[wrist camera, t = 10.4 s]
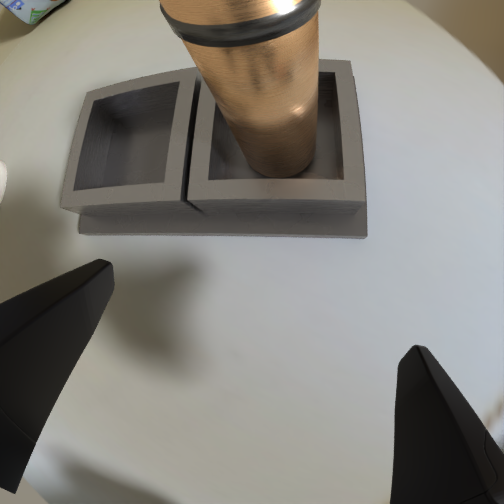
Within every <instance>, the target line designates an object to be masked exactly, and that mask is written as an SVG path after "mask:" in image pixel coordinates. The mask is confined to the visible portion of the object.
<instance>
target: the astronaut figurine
mask: <svg viewBox="0 0 504 504" xmlns="http://www.w3.org/2000/svg"><path fill="white" fill-rule="evenodd" d="M6 181H7V169H6V165H5V163H4V162H3V161H1V160H0V203H1V201H2V199H3V196H4V192H5V187H6Z"/></svg>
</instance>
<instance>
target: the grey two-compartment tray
mask: <svg viewBox="0 0 504 504" xmlns="http://www.w3.org/2000/svg"><path fill="white" fill-rule="evenodd" d="M60 208H63V209H66V210H69V211H72V212H75V213H78V214H81V219H80V228H79V234H83V235H183V236H264V237H313V238H352V239H365V238H366V237H367V200H366V181H365V166H364V154H363V143H362V133H361V124H360V115H359V107H358V100H357V93H356V86H355V80H354V76H353V73H352V67H351V62H350V61H346V60H326V59H319V64H318V111H317V136H316V150H315V154H314V157H313V159H312V161H311V162H310V164H309V165H308V166H307V167H306V168H305V169H304V170H302V171H301V172H299V173H297V174H295V175H293V176H290V177H286V178H272V177H267V176H264V175H262V174H260V173H258V172H257V171H255V170H254V169H253V168H252V167H251V166H250V165H249V164H248V162H247V160H246V158H245V157H244V155H243V153H242V151H241V149H240V147H239V145H238V143H237V141H236V139H235V137H234V135H233V133H232V131H231V129H230V127H229V126H228V124H227V122H226V120H225V118H224V116H223V114H222V112H221V110H220V108H219V107H218V105H217V103H216V101H215V99H214V97H213V95H212V94H211V92H210V90H209V88H208V86H207V84H206V82H205V81H204V79H203V77H202V75H201V73H200V71H199V70H198V68H197V67H193V68H186V69H180V70H175V71H169V72H164V73H159V74H154V75H150V76H145V77H141V78H137V79H133V80H129V81H125V82H121V83H117V84H114V85H110V86H106V87H103V88H100V89H96V90H93V91H90V92H87V94H86V97H85V100H84V103H83V107H82V110H81V113H80V117H79V120H78V124H77V128H76V131H75V135H74V139H73V143H72V148H71V152H70V156H69V161H68V166H67V171H66V176H65V181H64V187H63V192H62V199H61V205H60Z"/></svg>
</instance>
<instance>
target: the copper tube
mask: <svg viewBox="0 0 504 504" xmlns="http://www.w3.org/2000/svg"><path fill="white" fill-rule="evenodd" d="M159 1H160V9H161V12H162V13H163V15H164V17H165V18H166V20H167V22H168V23H169V25H170V27H171V29H172V30H173V32H174V33H175V34H176V35H177V36H178V37H179V38H181V39H182V41H183V43H184V45H185V46H186V48H187V50H188V52H189V53H190V55H191V57H192V59H193V61H194V62H195V64H196V66H197V68H198V70H199V71H200V73H201V75H202V77H203V79H204V81H205V82H206V84H207V86H208V88H209V90H210V92H211V94H212V95H213V97H214V99H215V101H216V103H217V105H218V107H219V108H220V110H221V112H222V114H223V116H224V118H225V120H226V122H227V124H228V126H229V127H230V129H231V131H232V133H233V135H234V137H235V139H236V141H237V143H238V145H239V147H240V149H241V151H242V153H243V155H244V157H245V158H246V160H247V162H248V164H249V165H250V166H251V167H252V168H253V169H254V170H255V171H257V172H258V173H260V174H262V175H264V176H267V177H272V178H286V177H290V176H293V175H295V174H297V173H299V172H301V171H302V170H304V169H305V168H306V167H307V166H308V165H309V164H310V162H311V161H312V159H313V157H314V154H315V150H316V136H317V111H318V64H319V33H318V10H319V7H320V5H321V0H159Z"/></svg>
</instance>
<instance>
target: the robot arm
mask: <svg viewBox="0 0 504 504" xmlns="http://www.w3.org/2000/svg"><path fill="white" fill-rule="evenodd" d="M114 285H115V284H114V272H113V265H112V263H111V262H109V261H106V260H103V259H97V260H95V261H92V262H90V263H88V264H85V265H83V266H81V267H78V268H76V269H74V270H72V271H69V272H67V273H65V274H63V275H60V276H58V277H56V278H54V279H52V280H49V281H47V282H45V283H43V284H41V285H38V286H36V287H34V288H32V289H30V290H28V291H26V292H23V293H21V294H19V295H17V296H15V297H13V298H11V299H9V300H7V301H5V302H3V303H1V304H0V487H1V488H3V489H5V490H7V491H9V492H11V493H14V494H15V493H16V491H17V488H18V486H19V483H20V481H21V478H22V476H23V473H24V471H25V468H26V466H27V464H28V461H29V459H30V456H31V454H32V452H33V450H34V447H35V445H36V442H37V440H38V438H39V436H40V434H41V431H42V429H43V427H44V425H45V423H46V421H47V419H48V417H49V415H50V413H51V411H52V409H53V407H54V405H55V403H56V401H57V399H58V397H59V395H60V393H61V391H62V389H63V387H64V385H65V383H66V382H67V380H68V378H69V376H70V374H71V372H72V370H73V369H74V367H75V365H76V363H77V361H78V360H79V358H80V356H81V354H82V353H83V351H84V349H85V347H86V346H87V344H88V342H89V340H90V339H91V337H92V335H93V333H94V331H95V329H96V327H97V325H98V323H99V320H100V318H101V316H102V314H103V312H104V310H105V307H106V305H107V303H108V301H109V299H110V297H111V295H112V293H113V290H114ZM390 504H504V454H503V452H502V451H501V450H500V448H499V447H498V445H497V444H496V442H495V441H494V439H493V438H492V437H491V435H490V433H489V432H488V430H487V429H486V428H485V426H484V425H483V423H482V422H481V420H480V419H479V417H478V416H477V414H476V413H475V411H474V410H473V409H472V407H471V406H470V404H469V403H468V402H467V400H466V399H465V397H464V396H463V395H462V393H461V392H460V391H459V389H458V388H457V386H456V385H455V384H454V382H453V381H452V380H451V378H450V377H449V376H448V374H447V373H446V372H445V370H444V369H443V368H442V366H441V365H440V364H439V363H438V361H437V360H436V359H435V357H434V356H433V355H432V354H431V352H430V351H429V350H428V348H427V347H425V346H420V345H414V346H412V347H411V348H410V350H409V351H408V352H407V353H406V354H405V356H404V357H403V358H402V359H401V360H400V362H399V365H398V373H397V388H396V401H395V429H394V460H393V476H392V488H391V498H390Z"/></svg>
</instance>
